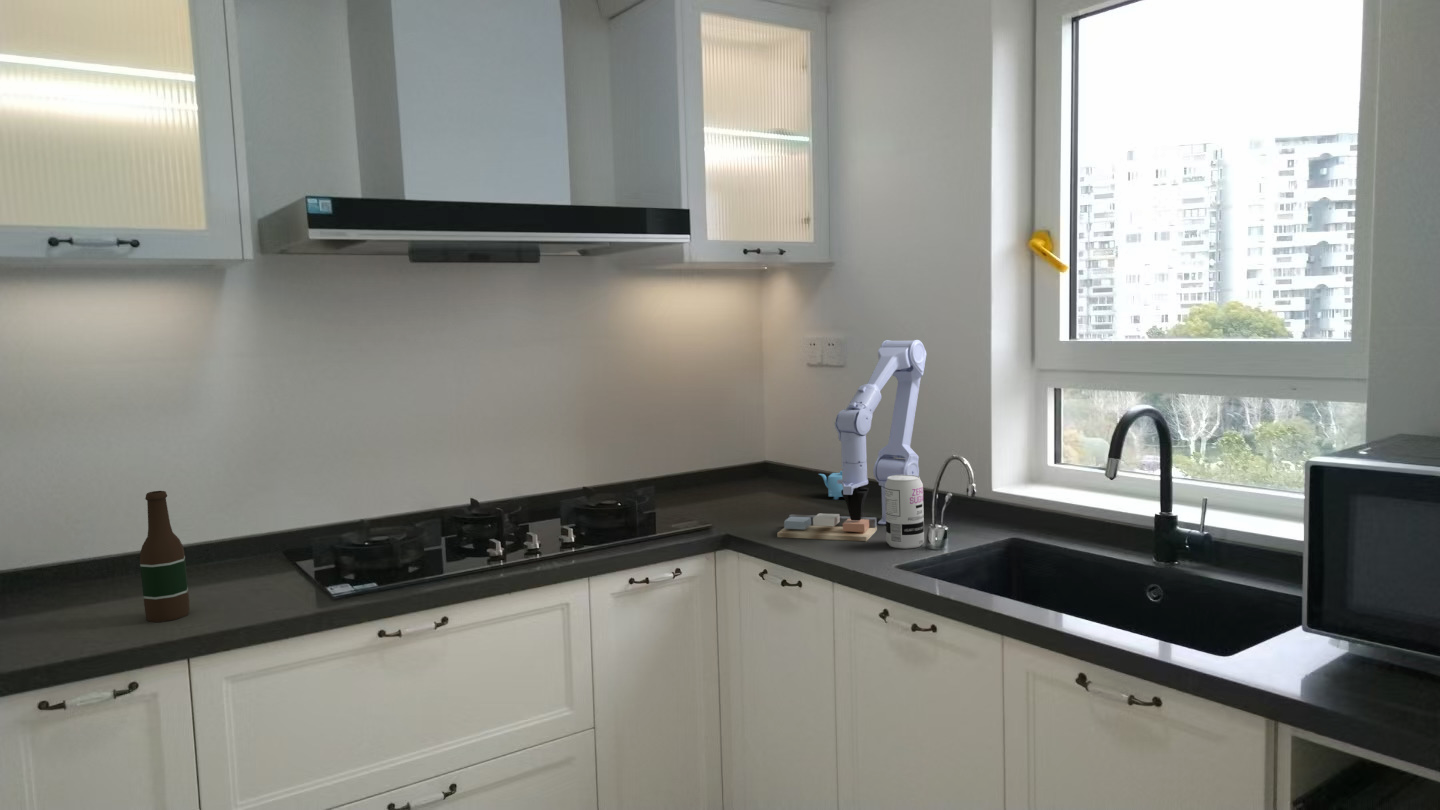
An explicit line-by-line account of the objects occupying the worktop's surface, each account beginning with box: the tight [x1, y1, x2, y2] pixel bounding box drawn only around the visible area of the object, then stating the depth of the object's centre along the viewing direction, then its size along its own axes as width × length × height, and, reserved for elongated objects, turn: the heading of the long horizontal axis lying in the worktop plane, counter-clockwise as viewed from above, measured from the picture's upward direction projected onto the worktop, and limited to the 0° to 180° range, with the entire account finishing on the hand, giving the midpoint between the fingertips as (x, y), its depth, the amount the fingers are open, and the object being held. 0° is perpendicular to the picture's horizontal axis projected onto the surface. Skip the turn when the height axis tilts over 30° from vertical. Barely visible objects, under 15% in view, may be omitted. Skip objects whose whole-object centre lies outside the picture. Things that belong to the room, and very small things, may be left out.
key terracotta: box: [843, 519, 869, 532], centre depth 230 cm, size 5×5×2 cm
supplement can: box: [885, 475, 925, 550], centre depth 219 cm, size 8×8×15 cm
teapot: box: [818, 470, 844, 500], centre depth 275 cm, size 12×6×8 cm, turn 72°
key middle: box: [813, 512, 840, 526], centre depth 232 cm, size 5×5×2 cm
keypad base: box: [776, 513, 878, 542], centre depth 233 cm, size 21×11×3 cm, turn 69°
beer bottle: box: [139, 490, 190, 623], centre depth 189 cm, size 8×8×24 cm
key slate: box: [783, 517, 811, 530], centre depth 235 cm, size 5×5×2 cm
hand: (856, 519), depth 230 cm, fingers closed
